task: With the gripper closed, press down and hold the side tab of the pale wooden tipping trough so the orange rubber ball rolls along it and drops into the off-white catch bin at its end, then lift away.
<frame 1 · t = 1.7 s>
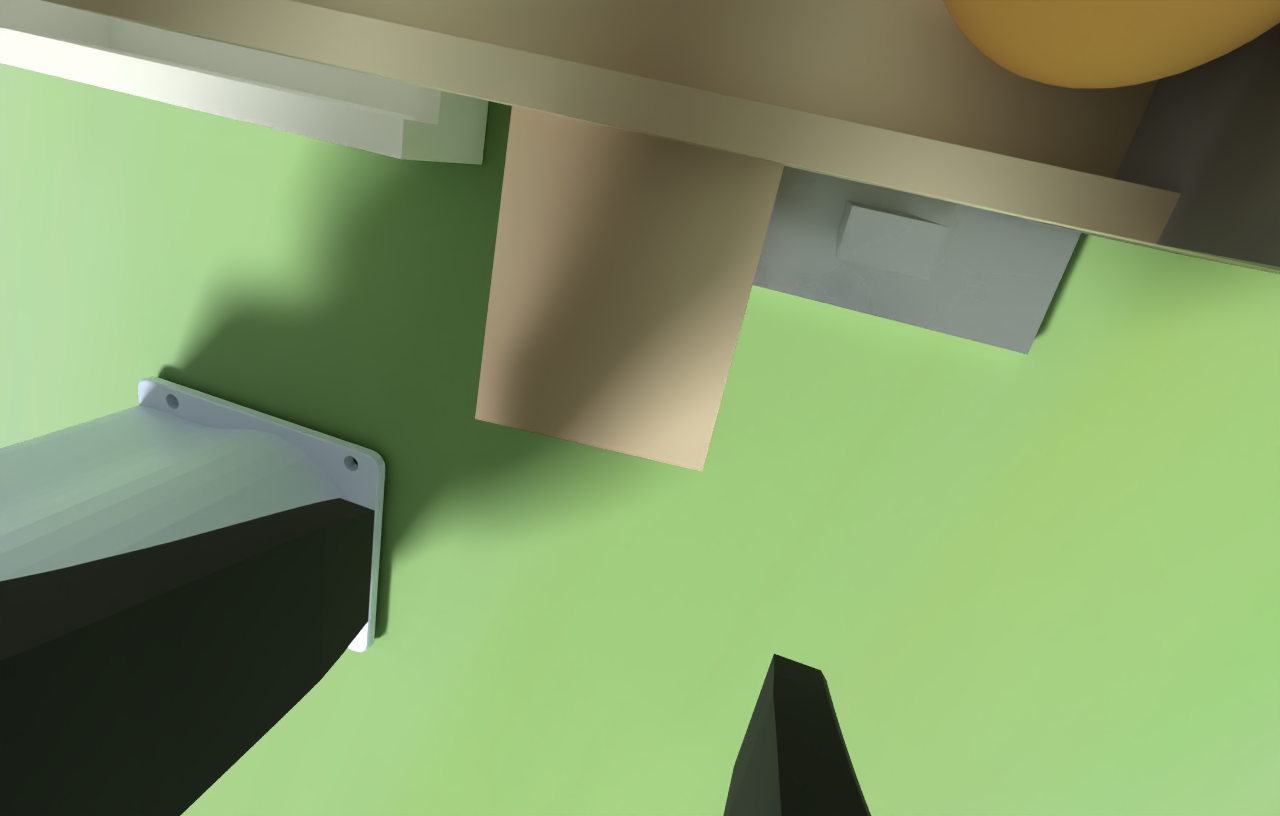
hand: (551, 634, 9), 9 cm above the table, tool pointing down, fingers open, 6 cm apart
lever stand: (937, 23, 14), on the table
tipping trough: (731, 83, 9), point 7 cm above the table, hinge at -10.0°, touching ball
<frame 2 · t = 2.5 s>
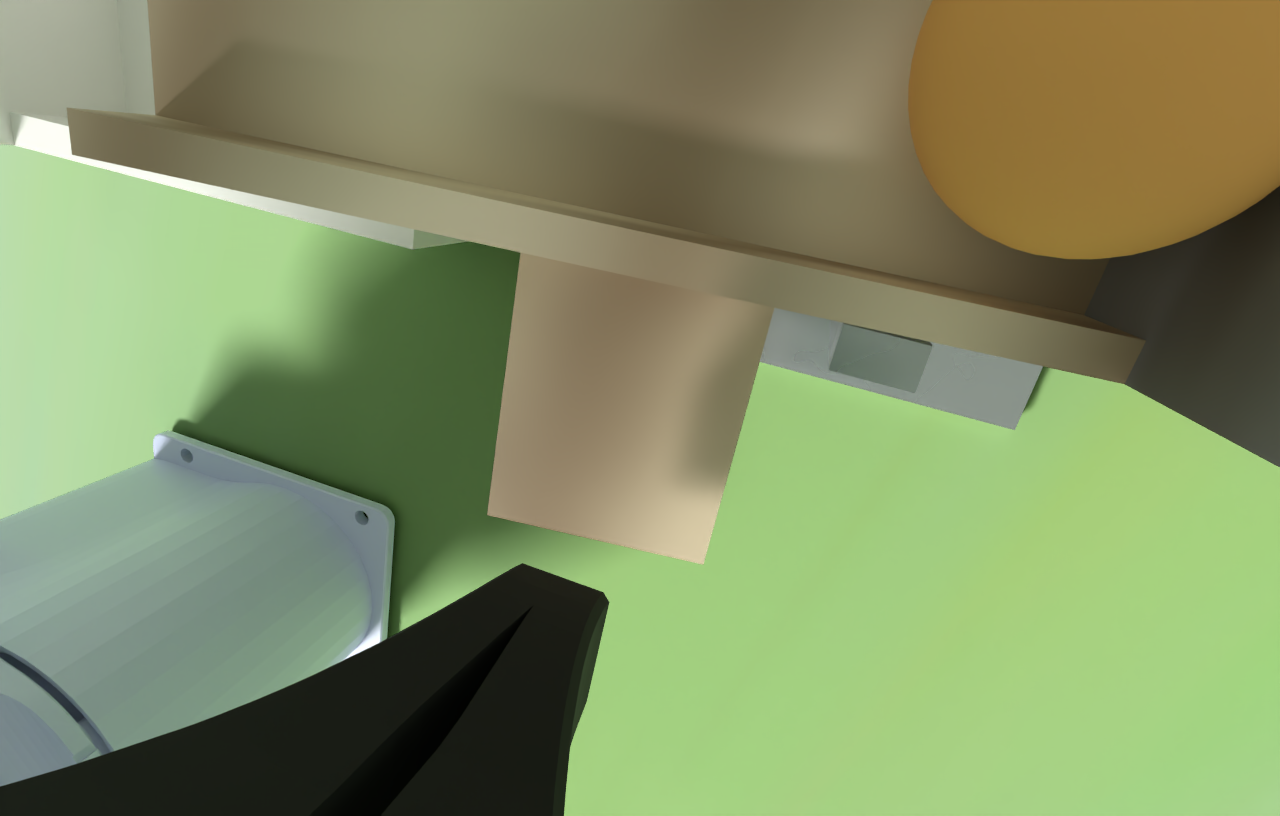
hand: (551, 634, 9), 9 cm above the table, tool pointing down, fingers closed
lever stand: (924, 119, 14), on the table
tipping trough: (727, 222, 9), point 7 cm above the table, hinge at -10.0°, touching ball
ball: (1110, 66, 7), point 8 cm above the table, tilted 14°, touching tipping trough
catch bin: (296, 1, 17), on the table
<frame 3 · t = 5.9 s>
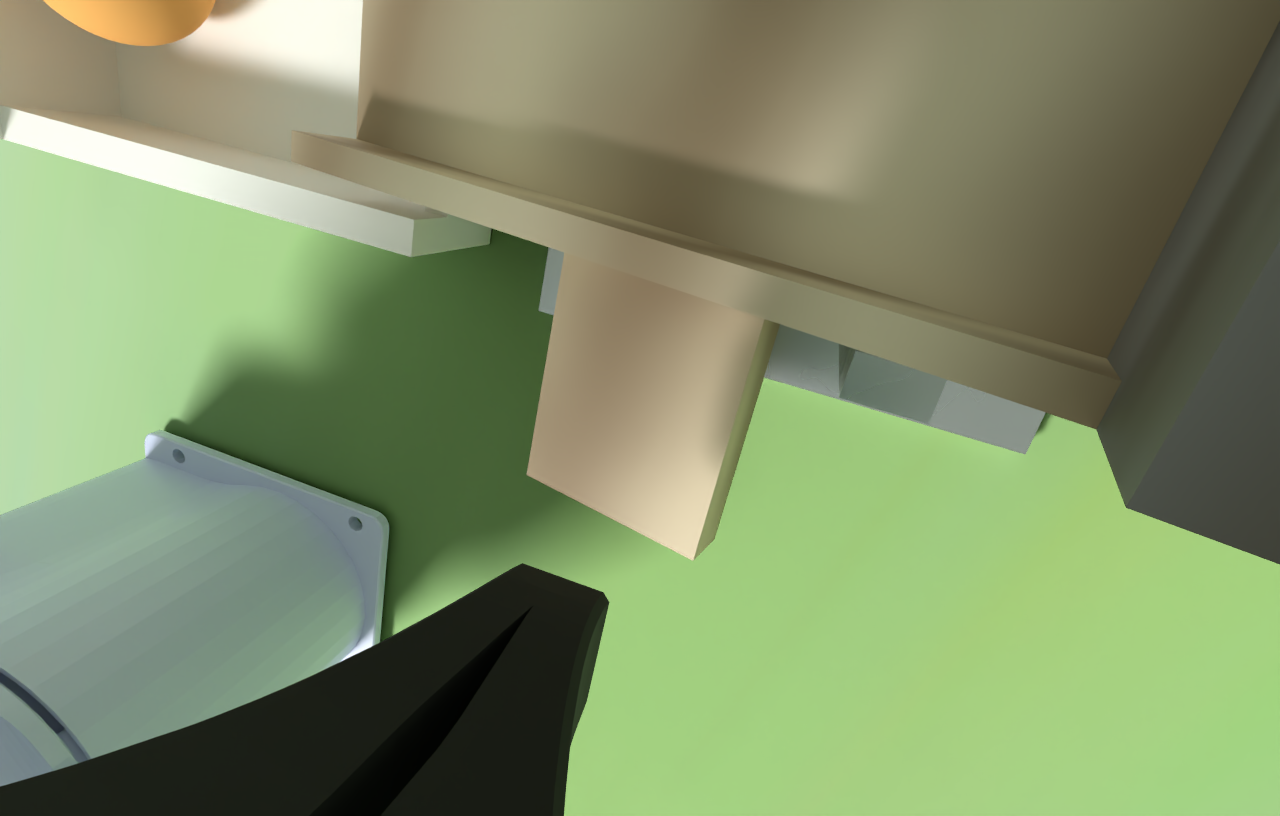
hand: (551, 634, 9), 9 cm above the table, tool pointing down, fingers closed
lever stand: (941, 133, 14), on the table
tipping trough: (723, 232, 10), point 5 cm above the table, hinge at 13.7°
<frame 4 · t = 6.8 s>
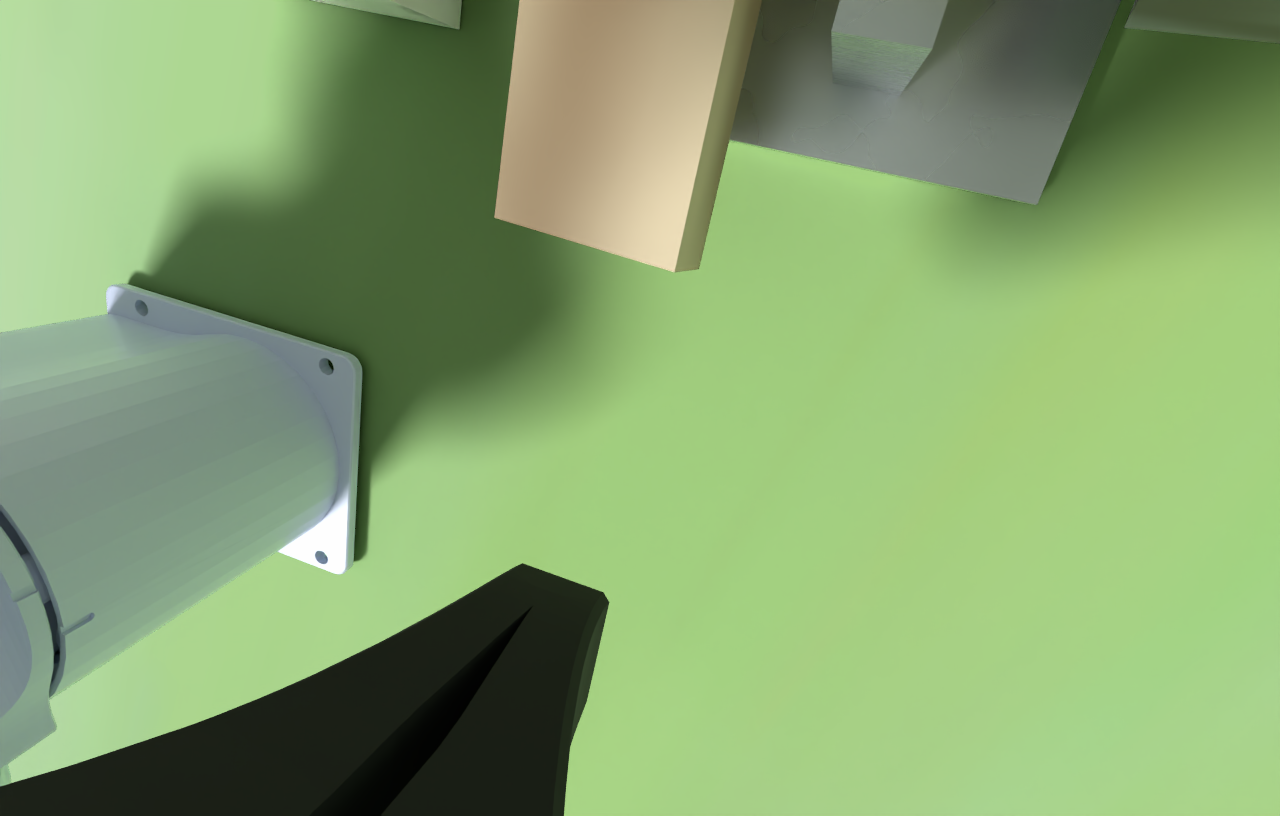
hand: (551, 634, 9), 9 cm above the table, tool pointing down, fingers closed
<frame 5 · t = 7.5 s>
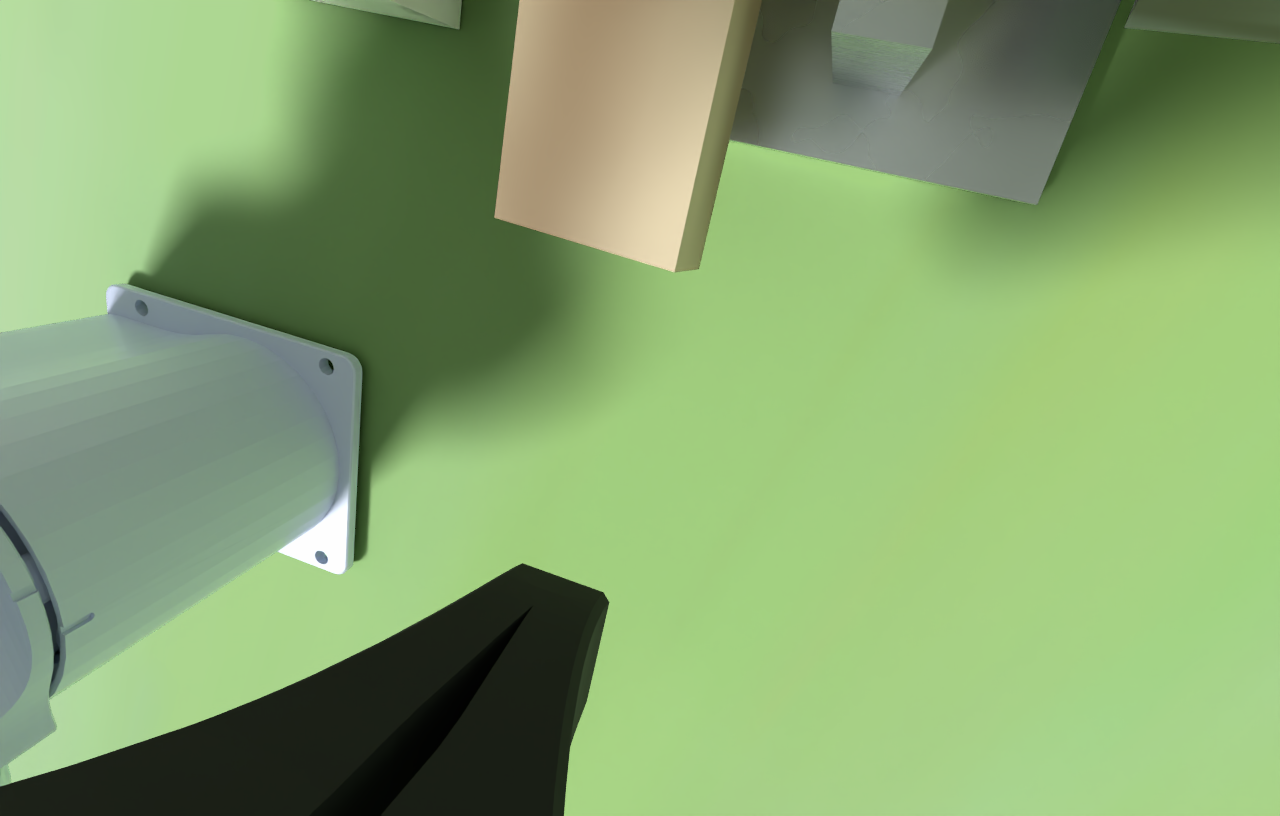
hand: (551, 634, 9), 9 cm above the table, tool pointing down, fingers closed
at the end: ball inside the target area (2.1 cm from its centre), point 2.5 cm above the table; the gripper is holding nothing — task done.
